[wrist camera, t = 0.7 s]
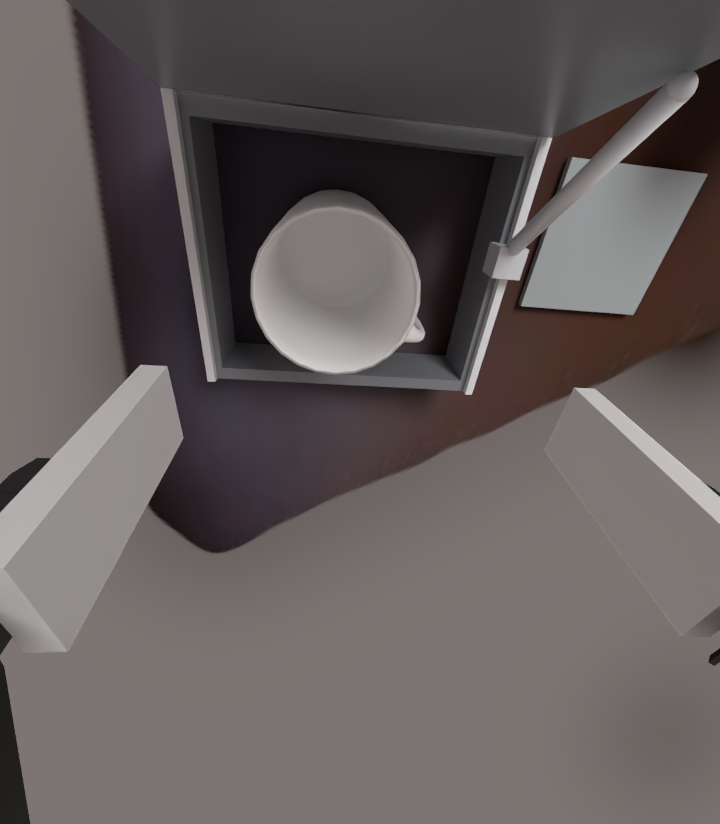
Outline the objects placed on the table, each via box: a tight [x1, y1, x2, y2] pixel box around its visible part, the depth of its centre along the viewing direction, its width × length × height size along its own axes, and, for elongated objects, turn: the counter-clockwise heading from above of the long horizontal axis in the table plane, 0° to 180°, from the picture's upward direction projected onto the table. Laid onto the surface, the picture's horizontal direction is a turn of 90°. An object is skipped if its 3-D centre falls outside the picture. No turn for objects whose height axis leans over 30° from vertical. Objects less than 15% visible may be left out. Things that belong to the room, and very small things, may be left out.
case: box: [160, 70, 699, 395], centre depth 23 cm, size 20×23×16 cm
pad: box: [518, 157, 708, 315], centre depth 30 cm, size 11×11×1 cm
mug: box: [251, 189, 425, 375], centre depth 25 cm, size 10×12×12 cm
